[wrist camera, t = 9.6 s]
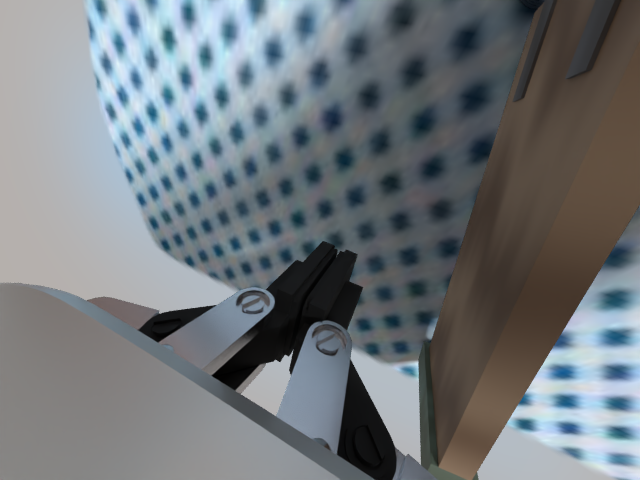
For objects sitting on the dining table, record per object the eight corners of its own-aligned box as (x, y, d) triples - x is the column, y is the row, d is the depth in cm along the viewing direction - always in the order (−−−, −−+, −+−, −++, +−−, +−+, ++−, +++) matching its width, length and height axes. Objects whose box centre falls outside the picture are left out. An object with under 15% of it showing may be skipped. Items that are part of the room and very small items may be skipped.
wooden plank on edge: (519, 19, 9) (739, -239, 3) (578, 13, 8) (1004, -323, 2) (418, 359, 16) (421, 484, 10) (446, 368, 16) (466, 505, 10)
